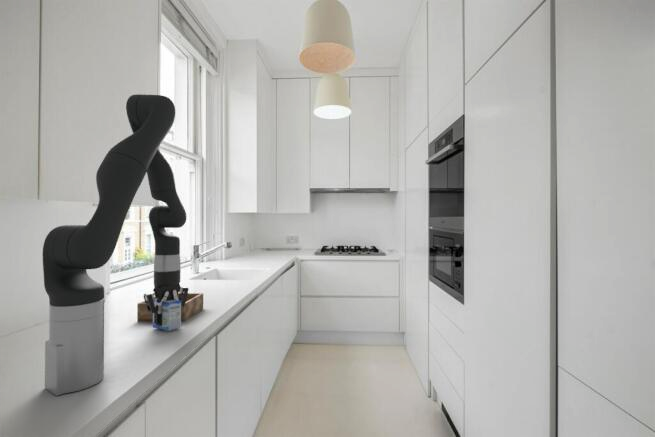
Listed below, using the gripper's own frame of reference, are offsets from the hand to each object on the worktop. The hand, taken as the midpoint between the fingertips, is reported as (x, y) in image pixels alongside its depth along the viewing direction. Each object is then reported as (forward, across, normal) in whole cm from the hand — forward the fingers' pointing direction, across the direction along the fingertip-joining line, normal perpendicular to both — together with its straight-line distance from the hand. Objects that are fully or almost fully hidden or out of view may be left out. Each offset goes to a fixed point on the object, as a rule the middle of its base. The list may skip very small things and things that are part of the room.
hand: (166, 322), depth 103 cm
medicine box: (+2, 0, 0) cm, 2 cm away
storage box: (+2, +10, +13) cm, 17 cm away
